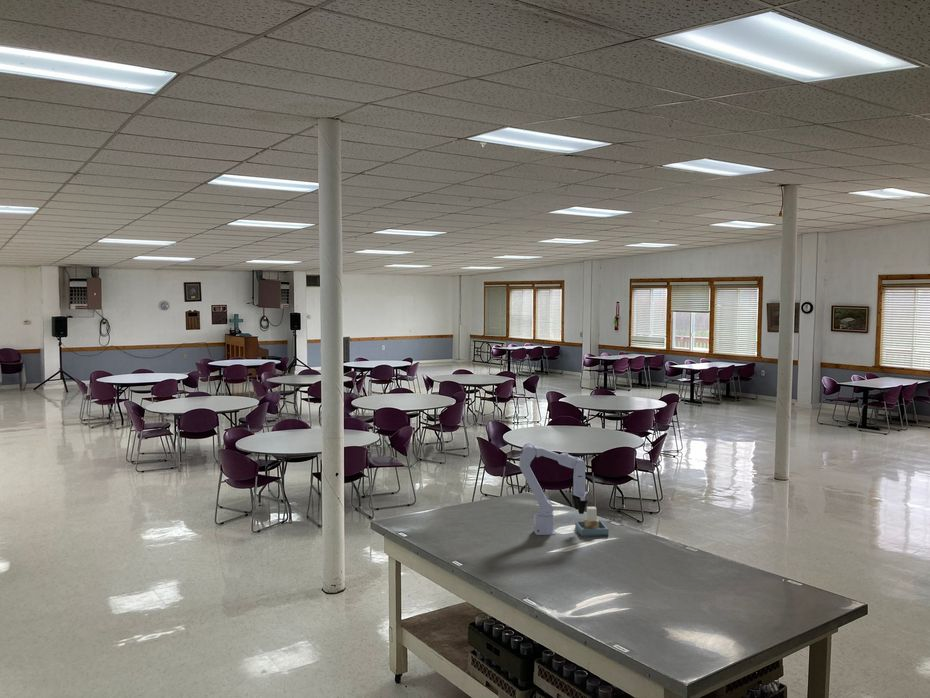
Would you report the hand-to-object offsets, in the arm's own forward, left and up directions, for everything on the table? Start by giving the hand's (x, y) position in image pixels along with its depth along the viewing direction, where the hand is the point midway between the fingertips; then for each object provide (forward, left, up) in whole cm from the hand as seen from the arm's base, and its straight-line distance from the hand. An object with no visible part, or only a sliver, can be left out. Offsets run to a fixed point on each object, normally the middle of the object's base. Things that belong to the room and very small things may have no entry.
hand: (579, 511), depth 329 cm
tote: (+6, 0, -10) cm, 12 cm away
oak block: (+6, 0, -9) cm, 11 cm away
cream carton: (+6, 0, -4) cm, 7 cm away
